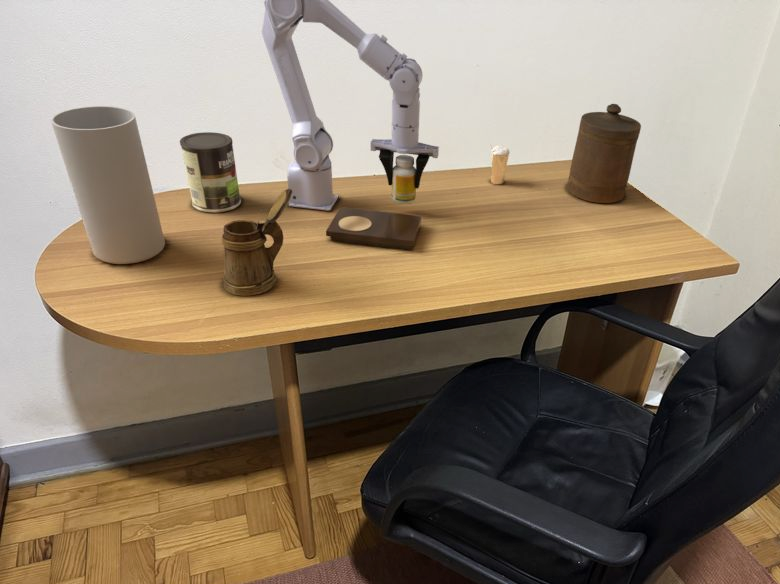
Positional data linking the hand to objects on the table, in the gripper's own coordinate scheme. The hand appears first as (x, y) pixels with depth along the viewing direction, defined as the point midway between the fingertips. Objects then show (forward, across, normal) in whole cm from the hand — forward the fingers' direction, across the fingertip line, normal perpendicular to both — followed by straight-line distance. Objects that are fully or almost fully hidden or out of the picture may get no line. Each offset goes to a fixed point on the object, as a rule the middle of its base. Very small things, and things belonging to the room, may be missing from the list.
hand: (403, 185), depth 139 cm
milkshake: (+7, +20, +24) cm, 32 cm away
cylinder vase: (+7, -48, -30) cm, 57 cm away
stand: (+7, -4, -12) cm, 14 cm away
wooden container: (+6, +46, +25) cm, 53 cm away
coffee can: (+7, -41, -6) cm, 42 cm away
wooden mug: (+7, -20, -36) cm, 42 cm away
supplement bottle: (+4, 0, 0) cm, 4 cm away
